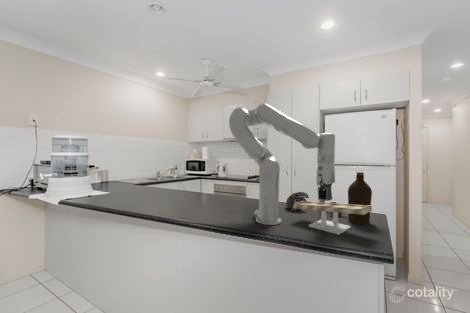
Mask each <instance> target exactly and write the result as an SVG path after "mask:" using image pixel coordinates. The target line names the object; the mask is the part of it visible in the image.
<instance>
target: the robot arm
mask: <svg viewBox="0 0 470 313" xmlns="http://www.w3.org/2000/svg"><path fill="white" fill-rule="evenodd" d="M228 121H229V122H228V123H229V124H228V126H229V129H230V130H229V131H230V132H231V134H232V136H233V137H234V138H235V141H237V143H238V144H239V145H240V146H241V147H242V149H243V150H244V152H245V153H246V154H247V155H248V157H249V158H250V159H252V160H253V161H255V163H256V164H257V165H258V167H259V172H258V173H259V198H258V204H259V205H258V209H255V211H254V212H253V214H255V215H256V216H257V217H255V222H257V223H258V224H261V225H267V226H275V225H276V226H277V225H280V224H281V223H282V218H280V217H279V210H280V209H279V205H280V204H279V202H280V170H281V166H280V162H279V160H278V159H277V158H276V157H275V156H274V155H273V153H272V152H271V151H270V150H269V149H268V148H267V146H266V145H265V144H264V143H263V142H261V141H260V140H259V139H258V138H257V137H256V135H255V134H254V133H253V132H252V130H250V128H249V127H253V126H258V125H263V124H266V125H267V126H269V127H270V128H271V129H274V130H275V131H277V132H278V133H280V134H282V135H285V136H287V137H289V138H291V139H293V140H295V141H297V142H298V143H300V145H301V146H302V147H303V148H304V149H306V150H310V149H317V153H316V155H317V159H316V161H317V162H316V163H317V167H316V186H317V191H318V190H319V199H324V200H325V199H326V191H325V188H326V187H331V188H332V185H333V184H335V182H336V172H335V171H336V169H335V151H336V149H335V148H336V135H335V134H334V133H331V132H324V133H319V134H318V133H316V131H314V130H312V129H311V128H309V127H308V126H306V125H304V124H302V123H300V122H299V121H297V120H295V119H293V118H291V117H289V116H288V115H286V114H285V113H283V112H281V111H279V110H278V109H276V108H275V107H273V106H271V105H269V104H268V103H260V104H258V105H257V107H256V109H251V110H247V109H246V108H244V107H236V108H235V109H234V110H232V111H231V114H230V116H229V120H228Z"/></svg>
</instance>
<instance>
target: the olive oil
mask: <svg viewBox="0 0 470 313" xmlns="http://www.w3.org/2000/svg"><path fill="white" fill-rule="evenodd" d="M364 173H365V172H362V171H361V172H359V171H357V172H356V176H355V177H356V178H355V180H354V181H353V182H352V183H351V184H349V187H348V189H347V201H348V202H347V204H353V205H371V204H372V196H373V191H372V188H371V187H370V185H369V184H368V183H367V182H366V181H365V175H364ZM371 206H372V205H371ZM347 214H348V215H347V216H348V218H347V219H348V222H350V223H352V224H356V225H365V226H366V225H369V224H370V219H371V218H370V217H371V211H370V212H369V213H367V214H365V215H361V214H351V213H347Z"/></svg>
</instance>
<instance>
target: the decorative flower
mask: <svg viewBox="0 0 470 313" xmlns="http://www.w3.org/2000/svg"><path fill="white" fill-rule="evenodd" d="M307 199H309V194H308V193H307V192H304V191H298V192H294V193H291V194H290V195H289V196H288V197H287V198H286V200H285V201H286V202H285V203H286V204H285V210H287V211H289V210H290V211H291V212H293V213H296V212H297V210H299V211H301V210H302V209H298V208H294V204H295V203H296V202H300V201H308V200H307Z"/></svg>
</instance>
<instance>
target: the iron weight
mask: <svg viewBox="0 0 470 313" xmlns="http://www.w3.org/2000/svg"><path fill="white" fill-rule="evenodd" d="M325 191H326V199H325V200H324V199H319V190H318V189H317V197H318V201H327V202H329V201H332V200H333V197H332V196H333V194H332V186H331V187H326V188H325Z"/></svg>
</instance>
